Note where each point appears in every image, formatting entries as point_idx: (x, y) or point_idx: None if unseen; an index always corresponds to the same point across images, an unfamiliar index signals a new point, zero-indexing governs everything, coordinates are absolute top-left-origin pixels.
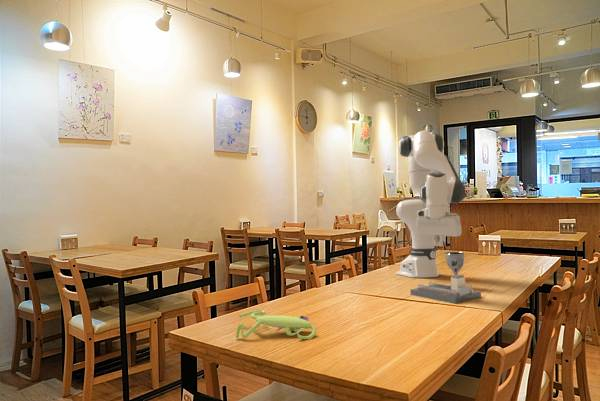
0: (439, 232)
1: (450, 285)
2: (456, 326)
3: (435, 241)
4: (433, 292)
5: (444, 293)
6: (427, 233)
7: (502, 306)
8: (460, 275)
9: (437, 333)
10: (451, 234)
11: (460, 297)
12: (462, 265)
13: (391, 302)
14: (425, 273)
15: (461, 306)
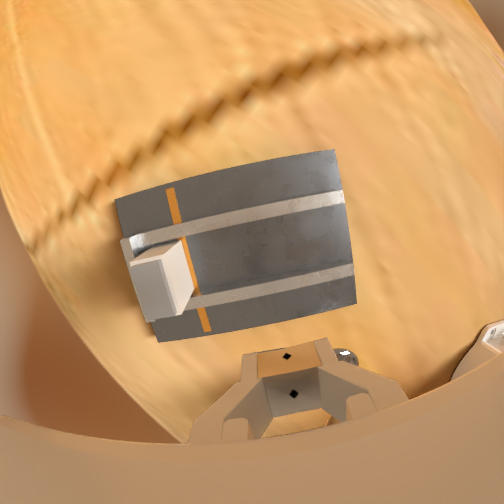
0: (188, 480)
1: (348, 361)
2: (5, 85)
3: (322, 367)
4: (235, 191)
5: (196, 218)
6: (487, 367)
7: (55, 291)
8: (146, 301)
9: (8, 41)
10: (8, 427)
11: (122, 229)
12: None
13: (254, 29)
14: (470, 364)
15: (89, 191)
